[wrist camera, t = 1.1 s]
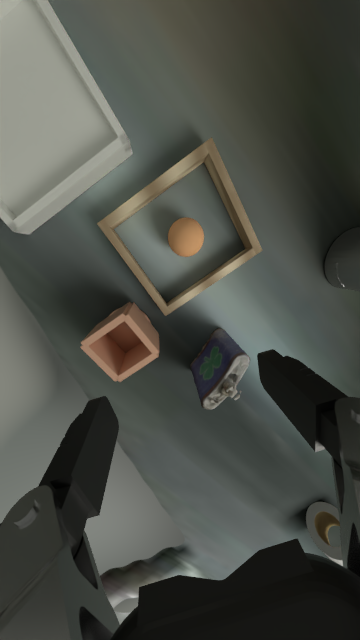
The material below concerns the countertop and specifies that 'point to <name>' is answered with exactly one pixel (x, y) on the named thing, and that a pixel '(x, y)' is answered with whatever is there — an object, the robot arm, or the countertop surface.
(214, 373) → the flask
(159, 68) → the countertop surface
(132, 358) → the cup
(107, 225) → the corral
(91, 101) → the tray
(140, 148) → the countertop surface
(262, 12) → the countertop surface
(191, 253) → the ball
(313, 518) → the toilet paper
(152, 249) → the countertop surface
